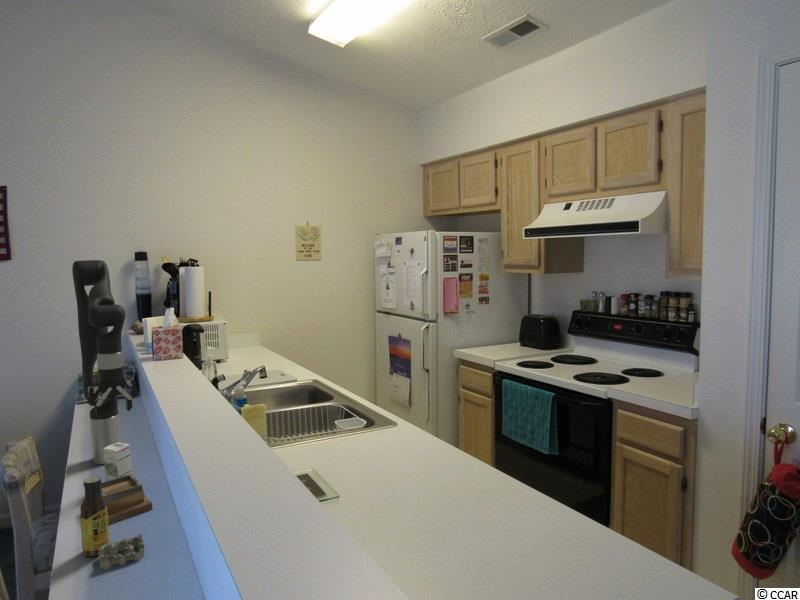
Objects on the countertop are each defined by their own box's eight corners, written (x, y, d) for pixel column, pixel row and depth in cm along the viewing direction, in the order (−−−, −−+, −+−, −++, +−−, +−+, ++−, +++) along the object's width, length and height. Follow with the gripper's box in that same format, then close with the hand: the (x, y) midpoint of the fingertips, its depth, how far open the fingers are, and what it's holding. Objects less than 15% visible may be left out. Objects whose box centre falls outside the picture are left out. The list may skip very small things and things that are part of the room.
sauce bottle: (97, 559, 134) (91, 487, 132) (76, 556, 135) (70, 484, 133) (115, 544, 140) (110, 475, 138) (96, 542, 142) (90, 473, 139)
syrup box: (133, 484, 175) (130, 443, 173) (119, 492, 170) (115, 450, 168) (120, 481, 177) (117, 441, 175) (105, 489, 171) (102, 447, 170)
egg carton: (98, 573, 129) (96, 558, 129) (99, 557, 136) (97, 542, 135) (145, 560, 134) (144, 545, 134) (144, 545, 141) (143, 531, 140)
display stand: (87, 506, 161) (85, 483, 160) (136, 491, 170) (134, 469, 169) (101, 526, 149) (99, 502, 148) (152, 509, 159) (150, 486, 158)
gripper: (130, 360, 176) (134, 406, 178) (83, 367, 166) (87, 415, 168) (137, 363, 171) (141, 411, 172) (88, 371, 161) (92, 421, 163)
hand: (114, 413), depth 170 cm, fingers open, 8 cm apart
